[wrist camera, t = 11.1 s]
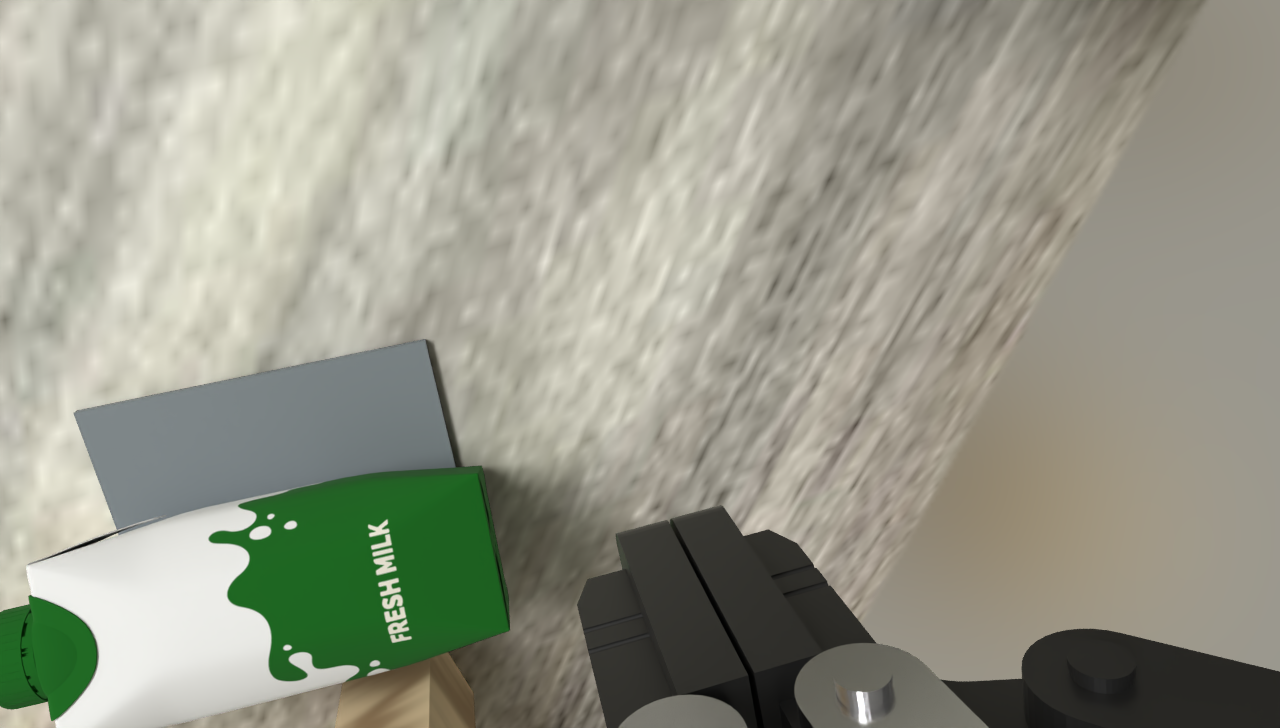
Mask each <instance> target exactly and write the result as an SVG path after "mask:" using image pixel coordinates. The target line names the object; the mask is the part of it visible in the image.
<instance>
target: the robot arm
mask: <svg viewBox="0 0 1280 728" xmlns="http://www.w3.org/2000/svg"><path fill="white" fill-rule="evenodd" d="M616 541H617V546H618V551H619V556H620V560H621V565H622V569H623V570H620V571H617V572H613V573H609V574H606V575H602V576H598V577H595V578H591V579H588V580H587V582H586V584H585V587H584V589H583V592H582V594H581V597H580V599H579V601H578V604H577V606H578V610H579V614H580V618H581V623H582V627H583V631H584V635H585V639H586V643H587V647H588V651H589V656H590V660H591V664H592V668H593V672H594V676H595V680H596V684H597V689H598V693H599V697H600V701H601V705H602V709H603V713H604V717H605V722H606V726H607V728H1280V672H1279V671H1275V670H1271V669H1267V668H1263V667H1258V666H1254V665H1250V664H1246V663H1242V662H1238V661H1234V660H1230V659H1225V658H1221V657H1217V656H1213V655H1209V654H1205V653H1201V652H1196V651H1192V650H1188V649H1184V648H1180V647H1176V646H1172V645H1168V644H1163V643H1159V642H1155V641H1151V640H1147V639H1143V638H1138V637H1135V636H1131V635H1126V634H1122V633H1118V632H1112V631H1107V630H1098V629H1074V630H1066V631H1061V632H1056V633H1053V634H1051V635H1048V636H1045V637H1044V638H1042V639H1040V640H1038V641H1036V642H1035V643H1034V644H1033V645H1031V646H1030V647H1029V649H1028V650H1027V651H1026V653H1025V655H1024V657H1023V660H1022V679H1010V680H992V681H972V682H956V681H946V680H940V679H939V678H938V677H937V676H936V675H935V674H934V673H933V672H932V671H931V670H930V669H929V668H928V667H927V666H926V665H925V664H924V663H923V662H922V661H920V660H919V659H918V658H917V657H915V656H913V655H911V654H910V653H908V652H905V651H903V650H901V649H899V648H895V647H892V646H888V645H882V644H877V643H876V642H875V641H874V640H873V638H872V637H871V636H870V635H869V633H868V632H867V631H866V630H865V628H864V627H863V626H862V625H861V623H860V622H859V621H858V619H857V618H856V617H855V616H854V614H853V613H852V612H851V611H850V609H849V608H848V607H847V606H846V604H845V603H844V602H843V601H842V599H841V598H840V597H839V596H838V594H837V593H836V592H835V591H834V589H833V588H832V587H831V586H828V584H827V581H826V579H825V578H824V577H823V575H822V574H821V573H820V572H819V570H818V569H817V568H814V565H813V563H812V562H811V560H810V559H809V558H808V557H807V555H806V554H805V553H804V552H803V550H802V549H801V548H800V547H799V545H798V544H797V543H795V542H793V541H791V540H789V539H787V538H785V537H783V536H781V535H779V534H777V533H774V532H772V531H770V530H765V531H761V532H758V533H754V534H750V535H747V536H743V535H742V533H741V532H740V531H739V529H738V528H737V526H736V525H735V523H734V522H733V520H732V519H731V517H730V516H729V514H728V513H727V511H726V510H725V509H724V507H723V506H721V505H720V506H716V507H712V508H709V509H705V510H701V511H698V512H694V513H690V514H686V515H683V516H679V517H675V518H672V519H670V524H669V522H668V521H667V520H665V521H661V522H657V523H654V524H650V525H646V526H643V527H639V528H635V529H631V530H628V531H624V532H620V533H616Z"/></svg>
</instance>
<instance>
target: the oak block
mask: <svg viewBox="0 0 1280 728" xmlns="http://www.w3.org/2000/svg"><path fill="white" fill-rule="evenodd" d="M335 728H476V726H475V710H474V694H473V691H472V690H471V688H470V686H469V685H468V683H467V682H466V680H465V679H464V677H463V675H462V674H461V672H460V671H459V669H458V667H457V666H456V664H455V663H454V661H453V659H452V658H451V656H450V655H449V653H448V652H447V653H444V654H441V655H438V656H435V657H432V658H429V659H427V660H424V661H420V662H417V663H414V664H411V665H408V666H404V667H401V668H397V669H393V670H390V671H386V672H382V673H378V674H375V675H371V676H367V677H363V678H359V679H355V680H351V681H347V682H343V684H342V690H341V696H340V701H339V707H338V713H337V719H336V724H335Z"/></svg>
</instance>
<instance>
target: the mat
mask: <svg viewBox="0 0 1280 728" xmlns="http://www.w3.org/2000/svg"><path fill="white" fill-rule="evenodd" d="M74 416H75V418H76V421H77V424H78V426H79V429H80V432H81V435H82V437H83V440H84V443H85V445H86V448H87V451H88V453H89V456H90V459H91V461H92V464H93V467H94V469H95V472H96V475H97V477H98V480H99V483H100V485H101V488H102V491H103V493H104V496H105V499H106V502H107V504H108V507H109V510H110V512H111V515H112V518H113V520H114V523H115V526H116V528H117V530H118V529H121V528H124V527H127V526H130V525H133V524H136V523H139V522H142V521H145V520H149V519H152V518H156V517H160V516H164V515H166V517H163V518H159V519H156V520H152V521H149V522H146V523H143V524H140V525H137V526H134V527H132V528H129V529H126V530H124V531H121V532H119V533H118V534H119V535H120V534H123V533H126V532H128V531H131V530H134V529H137V528H141V527H144V526H147V525H150V524H153V523H156V522H159V521H162V520H164V519H167V518H170V517H173V516H176V515H179V514H182V513H186V512H190V511H194V510H197V509H201V508H205V507H209V506H214V505H219V504H223V503H228V502H233V501H237V500H242V499H247V498H251V497H256V496H261V495H265V494H270V493H275V492H279V491H284V490H289V489H293V488H298V487H303V486H307V485H312V484H317V483H321V482H326V481H331V480H336V479H340V478H345V477H351V476H357V475H363V474H369V473H377V472H388V471H405V470H421V469H438V468H455V467H456V465H455V461H454V457H453V453H452V448H451V444H450V440H449V436H448V432H447V428H446V423H445V419H444V415H443V411H442V407H441V403H440V398H439V394H438V390H437V386H436V382H435V378H434V373H433V369H432V365H431V361H430V357H429V353H428V348H427V344H426V340H425V339H423V340H418V341H413V342H409V343H404V344H399V345H394V346H389V347H384V348H379V349H375V350H370V351H365V352H360V353H355V354H350V355H345V356H341V357H336V358H331V359H326V360H321V361H316V362H311V363H306V364H302V365H297V366H292V367H287V368H282V369H277V370H272V371H268V372H263V373H258V374H253V375H248V376H243V377H238V378H233V379H229V380H224V381H219V382H214V383H209V384H204V385H199V386H195V387H190V388H185V389H180V390H175V391H170V392H165V393H160V394H156V395H151V396H146V397H141V398H136V399H131V400H126V401H122V402H117V403H112V404H107V405H102V406H97V407H92V408H87V409H83V410H78V411H76V412H75V413H74Z"/></svg>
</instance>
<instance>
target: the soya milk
mask: <svg viewBox="0 0 1280 728" xmlns="http://www.w3.org/2000/svg"><path fill="white" fill-rule="evenodd" d="M163 517H166V515H164V516H160V517H156V518H152V519H149V520H145V521H142V522H139V523H136V524H133V525H130V526H127V527H124V528H121V529H118V530H115V531H112V532H109V533H106V534H103V535H100V536H97V537H95V538H92V539H90V540H87V541H85V542H82V543H79V544H77V545H74V546H72V547H69V548H67V549H65V550H62V551H60V552H57V553H55V554H52V555H50V556H48V557H45V558H42V559H40V560H37V561H34V562H31V563H29V564H28V565H27V566H26V571H27V577H28V582H29V586H30V590H31V594H32V595H30V596H28V597H29V603H30V604H29V605H25V606H20V607H16V608H12V609H8V610H4V611H2V612H0V706H1V707H3V708H6V709H18V708H23V707H27V706H31V705H36V704H40V703H44V702H48V704H49V711H50V717H51V721H53V720H55V723H56V728H163V727H167V726H171V725H176V724H180V723H184V722H189V721H193V720H197V719H201V718H205V717H209V716H213V715H217V714H221V713H225V712H229V711H233V710H237V709H241V708H245V707H249V706H253V705H257V704H260V703H264V702H268V701H272V700H276V699H280V698H284V697H288V696H292V695H296V694H300V693H304V692H308V691H312V690H316V689H320V688H324V687H327V686H331V685H335V684H339V683H343V682H347V681H351V680H355V679H359V678H363V677H367V676H371V675H375V674H378V673H382V672H386V671H390V670H393V669H397V668H401V667H404V666H408V665H411V664H414V663H417V662H420V661H424V660H427V659H429V658H432V657H435V656H438V655H441V654H444V653H447V652H450V651H452V650H455V649H458V648H461V647H464V646H467V645H470V644H473V643H475V642H478V641H481V640H484V639H487V638H490V637H493V636H495V635H498V634H501V633H504V632H507V631H509V630H510V618H509V597H508V591H507V587H506V583H505V578H504V574H503V569H502V564H501V559H500V554H499V549H498V544H497V540H496V535H495V530H494V525H493V520H492V515H491V510H490V505H489V500H488V495H487V490H486V484H485V477H484V473H483V468H482V466H470V467H455V468H438V469H421V470H405V471H388V472H377V473H369V474H363V475H357V476H351V477H345V478H340V479H336V480H331V481H326V482H321V483H317V484H312V485H307V486H303V487H298V488H293V489H289V490H284V491H279V492H275V493H270V494H265V495H261V496H256V497H251V498H247V499H242V500H237V501H233V502H228V503H223V504H219V505H214V506H209V507H205V508H201V509H197V510H194V511H190V512H186V513H182V514H179V515H176V516H173V517H170V518H167V519H164V520H162V521H159V522H156V523H153V524H150V525H147V526H144V527H141V528H137V529H134V530H131V531H128V532H126V533H123V534H120V535H117V536H115V537H112V538H109V539H106V540H103V539H105V538H107V537H109V536H112V535H114V534H116V533H119V532H121V531H124V530H126V529H129V528H132V527H134V526H137V525H140V524H143V523H146V522H149V521H152V520H156V519H159V518H163ZM101 540H103V541H101ZM98 541H100V542H98ZM96 542H97V543H96Z"/></svg>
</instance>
